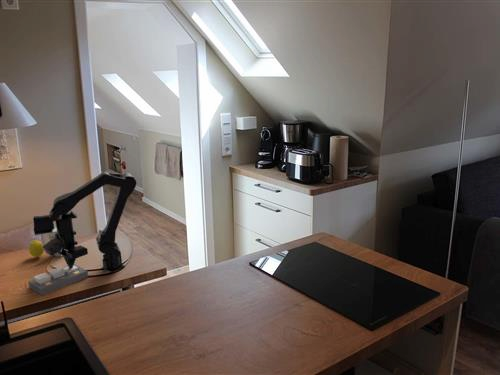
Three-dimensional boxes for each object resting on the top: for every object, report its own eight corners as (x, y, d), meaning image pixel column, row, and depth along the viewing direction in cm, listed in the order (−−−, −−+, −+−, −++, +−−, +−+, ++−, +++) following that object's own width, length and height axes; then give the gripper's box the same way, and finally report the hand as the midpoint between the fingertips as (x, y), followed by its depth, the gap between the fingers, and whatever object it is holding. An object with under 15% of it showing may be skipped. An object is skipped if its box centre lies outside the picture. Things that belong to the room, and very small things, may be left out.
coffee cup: (68, 248, 195) (64, 223, 192) (75, 254, 189) (71, 228, 186) (48, 254, 190) (44, 228, 187) (54, 260, 184) (50, 233, 181)
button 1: (45, 277, 163) (44, 272, 163) (50, 280, 161) (50, 275, 160) (34, 281, 160) (34, 276, 160) (40, 284, 158) (39, 279, 157)
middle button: (59, 272, 167) (58, 267, 167) (65, 275, 165) (64, 270, 164) (49, 276, 164) (48, 271, 164) (54, 279, 162) (54, 274, 161)
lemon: (47, 255, 189) (44, 237, 187) (40, 260, 184) (37, 242, 182) (35, 254, 190) (32, 237, 187) (28, 260, 184) (25, 242, 182)
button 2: (73, 269, 172) (72, 264, 171) (78, 272, 169) (78, 267, 169) (63, 273, 169) (63, 268, 168) (69, 276, 166) (68, 271, 166)
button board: (74, 269, 174) (73, 263, 174) (88, 276, 168) (87, 270, 168) (29, 287, 161) (28, 280, 160) (42, 295, 155) (41, 288, 154)
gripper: (32, 231, 164) (38, 269, 168) (56, 242, 153) (63, 283, 157) (60, 222, 172) (66, 259, 177) (86, 233, 161) (91, 271, 165)
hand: (70, 268), depth 169 cm, fingers closed, pressing on button 2
